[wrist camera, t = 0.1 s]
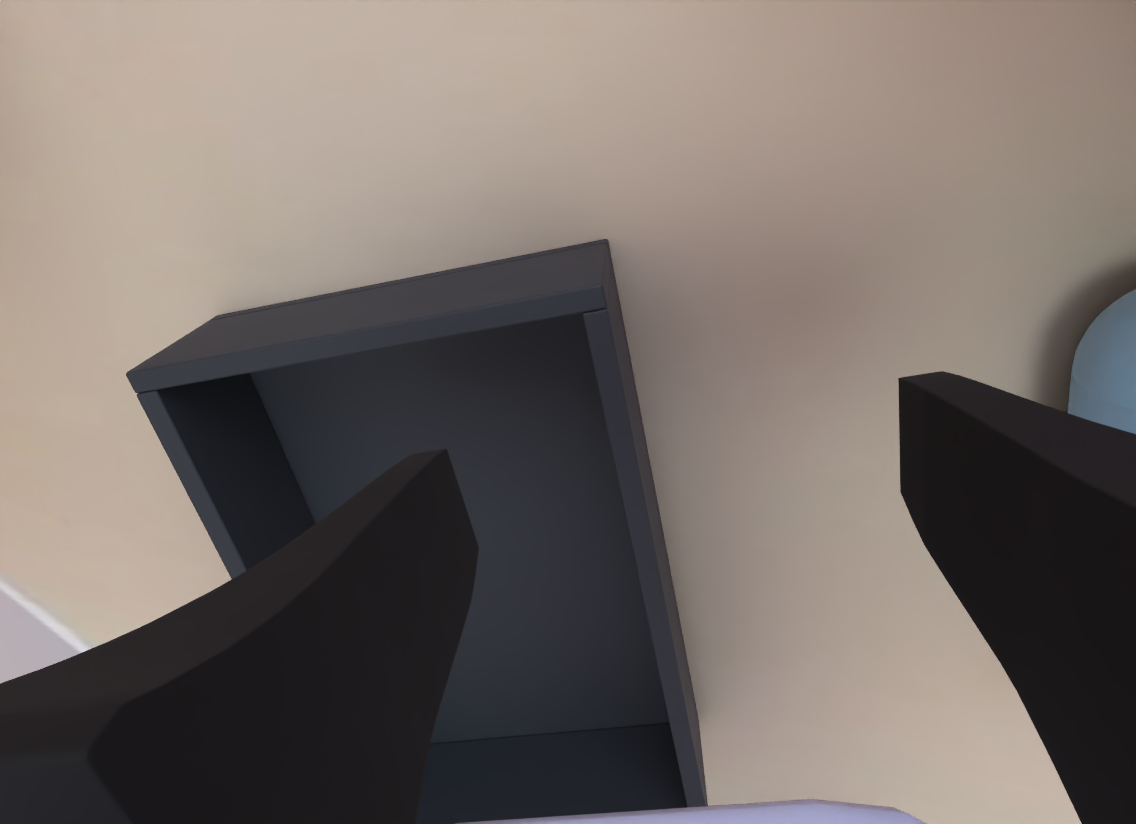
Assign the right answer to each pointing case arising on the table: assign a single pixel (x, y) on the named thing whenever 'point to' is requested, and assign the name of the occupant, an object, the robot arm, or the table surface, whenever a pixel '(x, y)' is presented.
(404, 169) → the table surface
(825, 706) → the table surface
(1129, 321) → the capsule
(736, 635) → the table surface
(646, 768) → the bin
